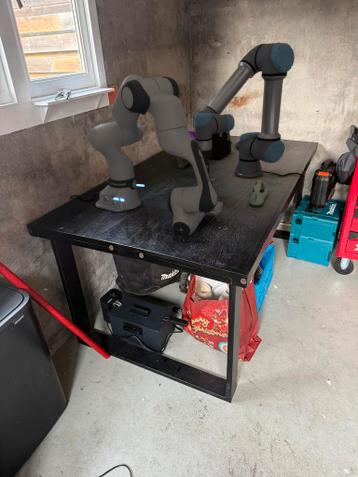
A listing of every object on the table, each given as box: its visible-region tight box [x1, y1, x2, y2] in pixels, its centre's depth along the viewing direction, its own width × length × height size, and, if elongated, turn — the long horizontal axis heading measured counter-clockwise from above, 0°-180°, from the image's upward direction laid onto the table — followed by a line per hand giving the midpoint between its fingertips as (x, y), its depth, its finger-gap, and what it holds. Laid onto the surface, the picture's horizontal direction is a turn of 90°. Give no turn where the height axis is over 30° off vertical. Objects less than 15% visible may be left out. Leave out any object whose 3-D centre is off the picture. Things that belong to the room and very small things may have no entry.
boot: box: [175, 156, 191, 169], centre depth 209 cm, size 9×24×20 cm, turn 168°
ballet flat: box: [249, 179, 269, 207], centre depth 158 cm, size 8×24×8 cm, turn 163°
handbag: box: [210, 131, 232, 161], centre depth 217 cm, size 21×9×25 cm, turn 148°
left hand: (203, 198), depth 146 cm, fingers closed on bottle, 5 cm apart
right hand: (204, 196), depth 162 cm, fingers open, 5 cm apart
